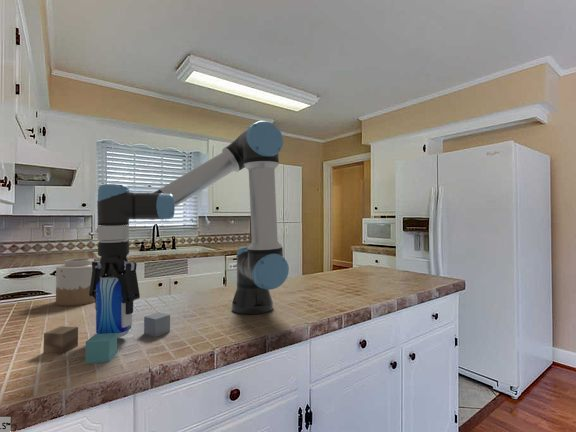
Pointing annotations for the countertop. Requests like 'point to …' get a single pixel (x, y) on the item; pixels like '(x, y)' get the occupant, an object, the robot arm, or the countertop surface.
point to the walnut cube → (60, 340)
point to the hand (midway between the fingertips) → (114, 323)
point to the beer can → (109, 307)
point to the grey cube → (156, 324)
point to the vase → (74, 282)
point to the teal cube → (101, 348)
